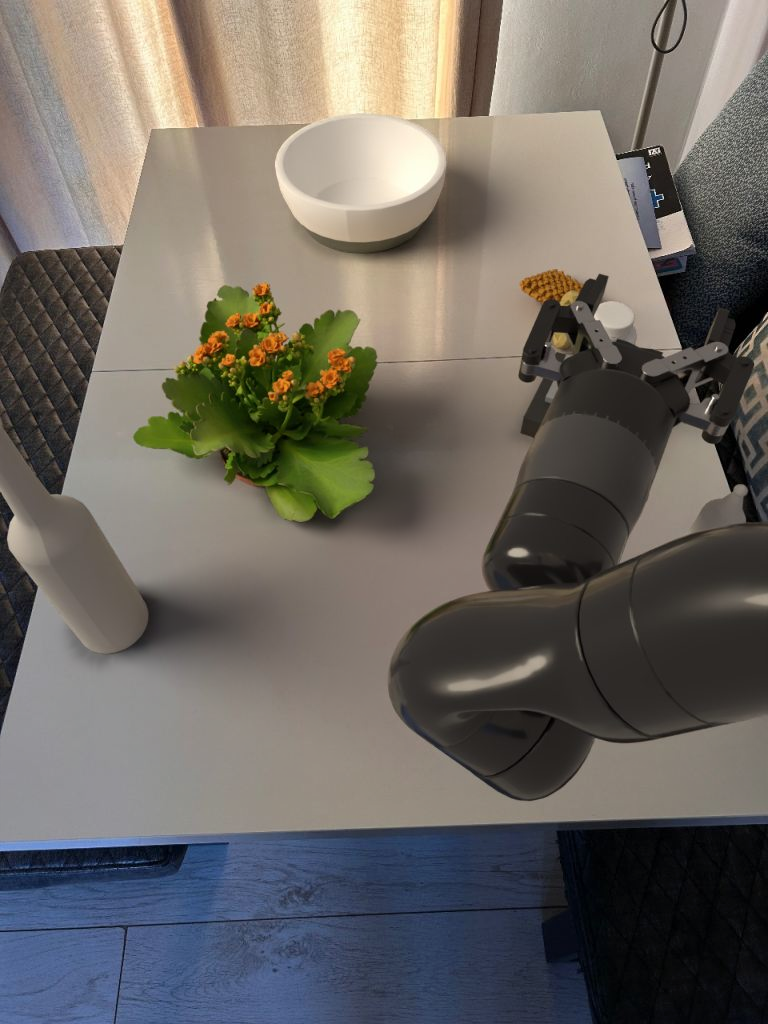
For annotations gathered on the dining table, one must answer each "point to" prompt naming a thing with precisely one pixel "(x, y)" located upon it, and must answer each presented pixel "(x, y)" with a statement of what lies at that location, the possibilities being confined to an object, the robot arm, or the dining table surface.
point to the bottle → (70, 559)
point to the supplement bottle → (617, 321)
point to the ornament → (553, 293)
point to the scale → (540, 403)
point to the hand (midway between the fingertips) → (659, 301)
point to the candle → (722, 511)
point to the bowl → (361, 180)
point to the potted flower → (273, 404)
